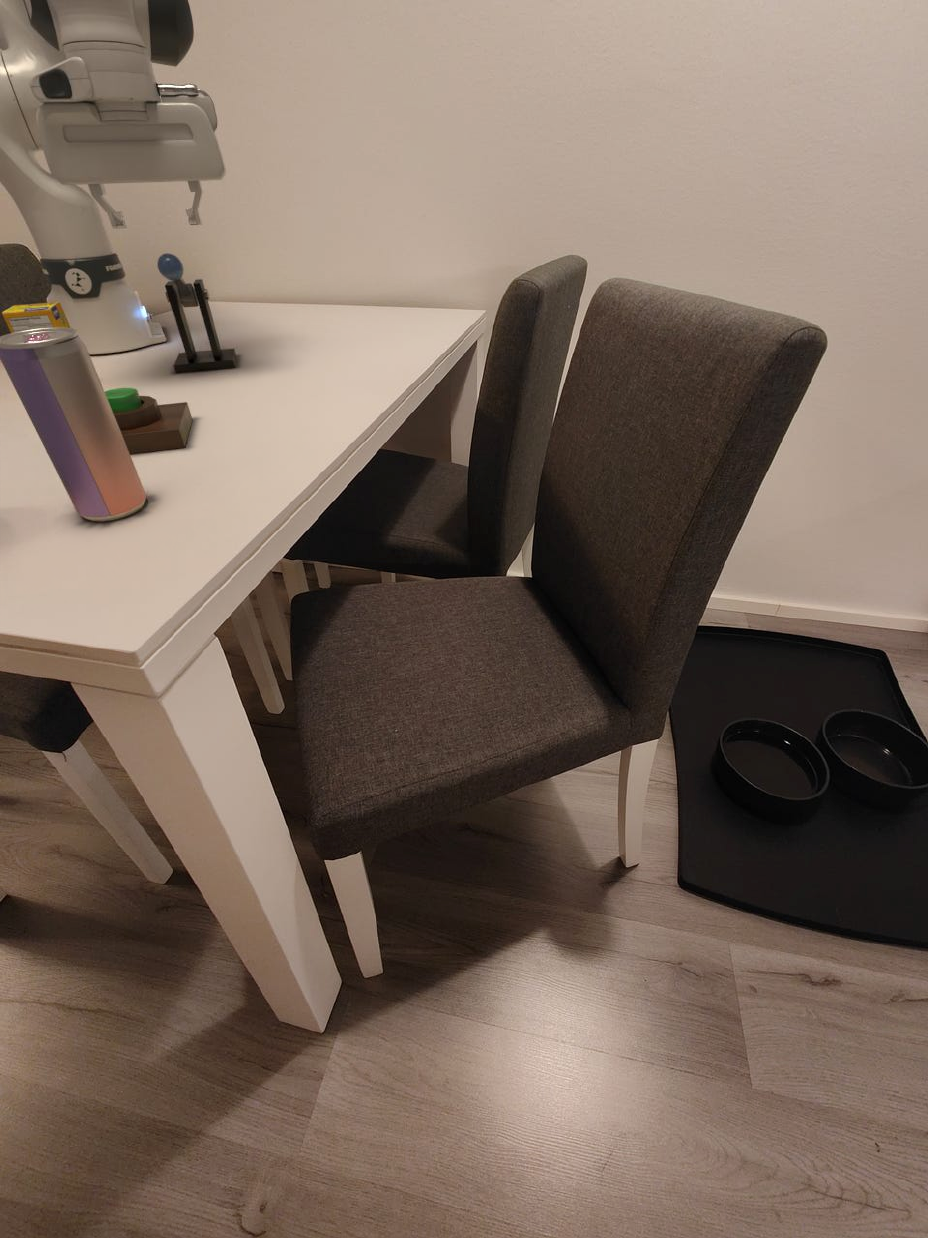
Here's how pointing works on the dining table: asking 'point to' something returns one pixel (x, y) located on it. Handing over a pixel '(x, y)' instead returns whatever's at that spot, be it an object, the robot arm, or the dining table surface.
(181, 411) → the button block
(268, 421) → the dining table surface
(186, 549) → the dining table surface
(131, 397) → the light button
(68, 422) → the beverage can
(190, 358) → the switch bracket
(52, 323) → the supplement box
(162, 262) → the switch lever
